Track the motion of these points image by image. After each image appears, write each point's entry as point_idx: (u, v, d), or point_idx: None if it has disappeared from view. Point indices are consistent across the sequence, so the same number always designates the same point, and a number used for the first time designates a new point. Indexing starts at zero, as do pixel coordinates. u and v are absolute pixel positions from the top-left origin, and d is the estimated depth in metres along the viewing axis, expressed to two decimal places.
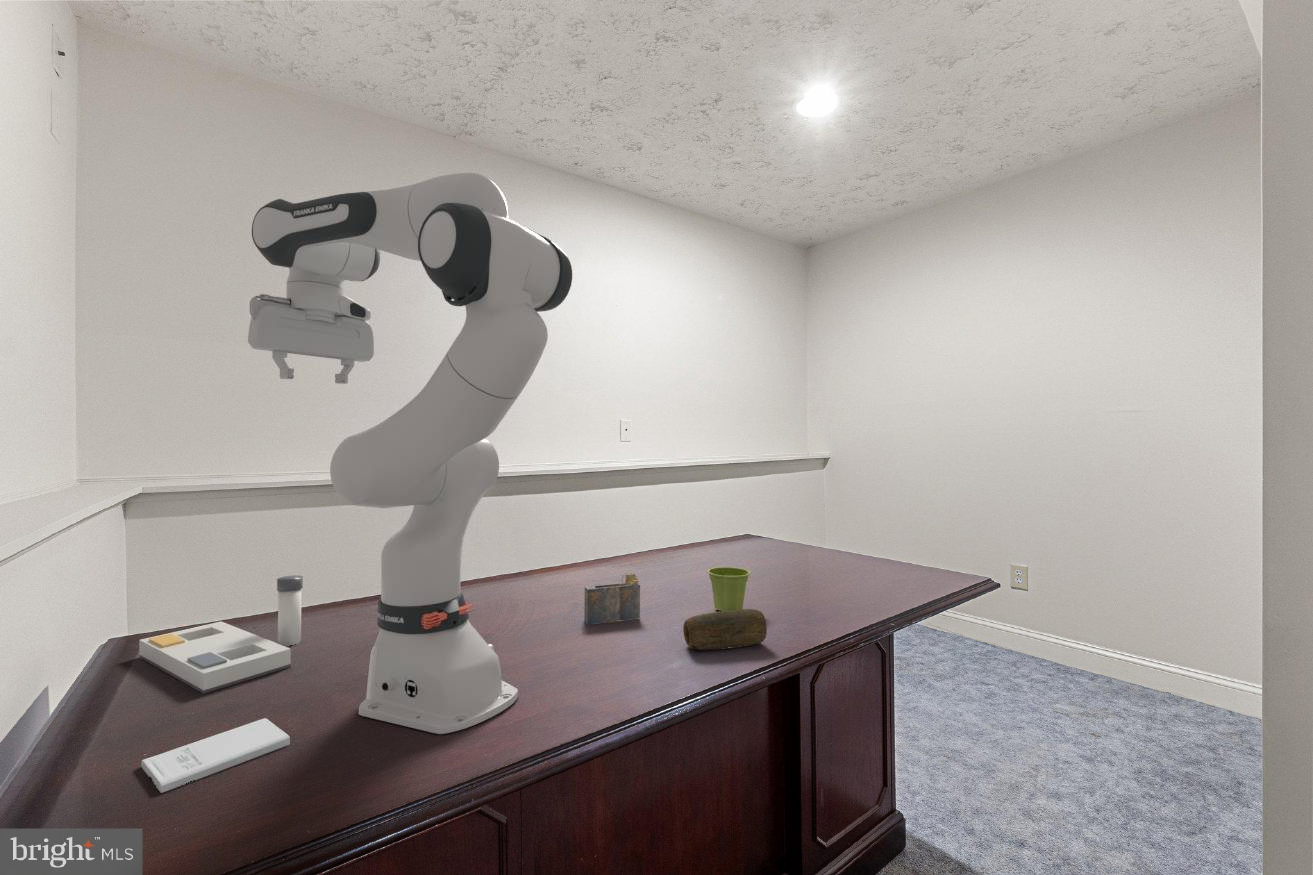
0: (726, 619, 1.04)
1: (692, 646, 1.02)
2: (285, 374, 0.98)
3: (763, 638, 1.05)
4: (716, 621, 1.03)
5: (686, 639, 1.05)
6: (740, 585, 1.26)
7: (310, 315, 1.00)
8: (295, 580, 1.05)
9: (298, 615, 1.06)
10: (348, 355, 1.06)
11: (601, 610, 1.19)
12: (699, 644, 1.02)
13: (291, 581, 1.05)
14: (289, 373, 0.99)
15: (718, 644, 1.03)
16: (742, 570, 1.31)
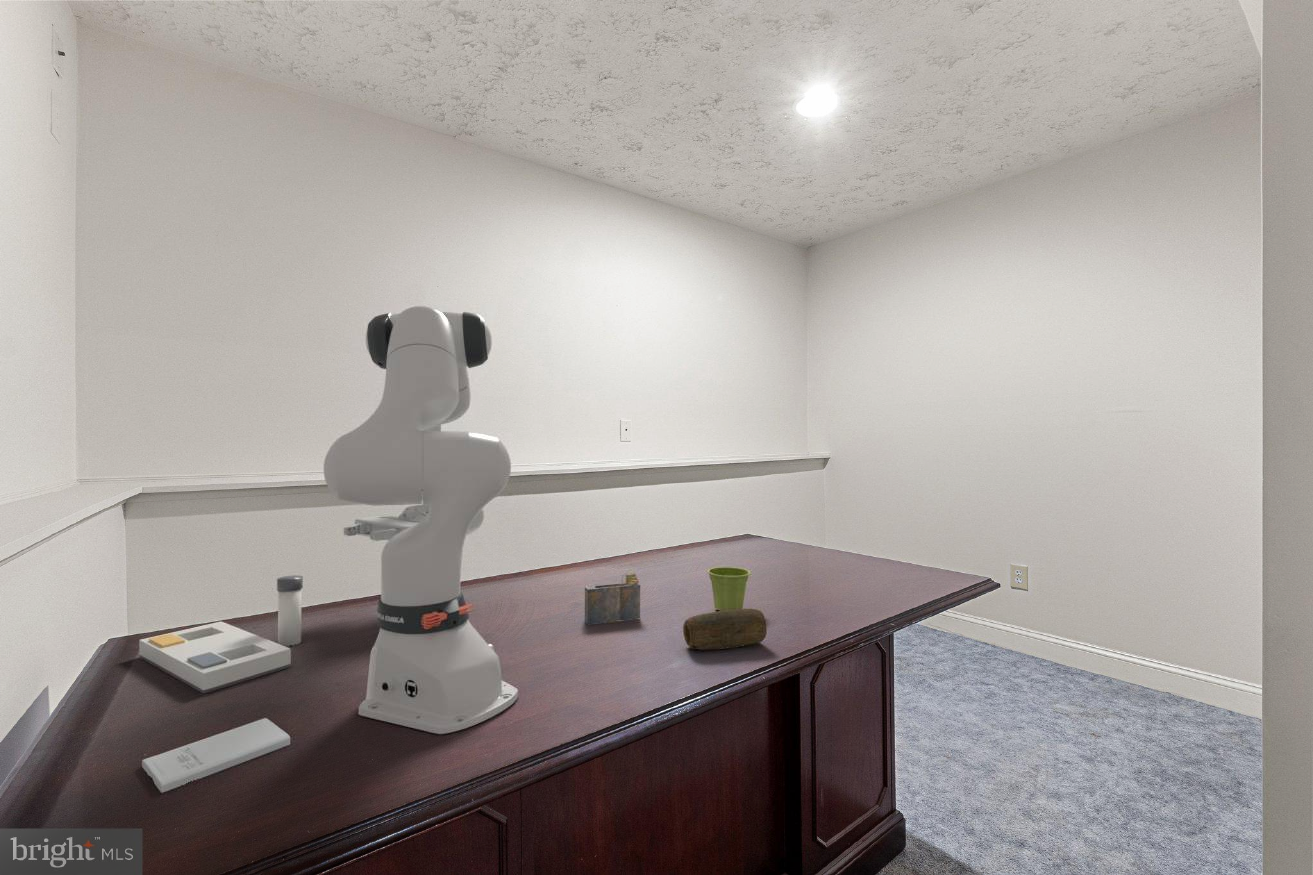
0: (726, 618, 1.04)
1: (692, 646, 1.02)
2: (347, 527, 1.21)
3: (763, 637, 1.05)
4: (716, 621, 1.03)
5: (686, 639, 1.05)
6: (740, 585, 1.26)
7: None
8: (295, 580, 1.05)
9: (298, 615, 1.06)
10: (396, 524, 1.19)
11: (601, 610, 1.19)
12: (699, 644, 1.02)
13: (291, 581, 1.05)
14: (349, 527, 1.21)
15: (719, 644, 1.03)
16: (742, 570, 1.31)
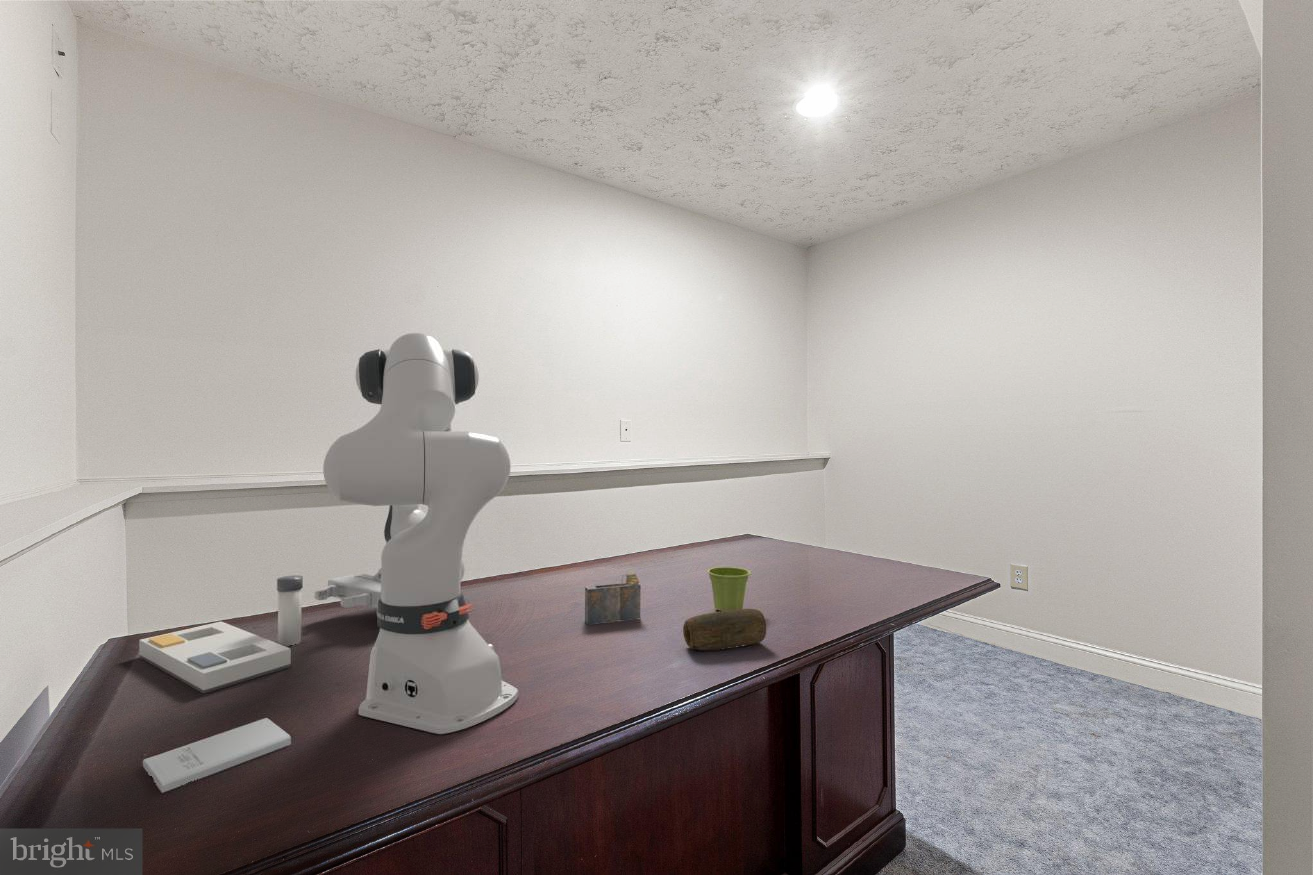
0: (726, 619, 1.04)
1: (693, 646, 1.02)
2: (318, 590, 1.16)
3: (763, 637, 1.06)
4: (717, 621, 1.03)
5: (686, 639, 1.05)
6: (740, 585, 1.26)
7: None
8: (295, 580, 1.05)
9: (298, 615, 1.06)
10: (369, 588, 1.14)
11: (601, 610, 1.19)
12: (700, 645, 1.02)
13: (291, 581, 1.05)
14: (321, 590, 1.16)
15: (719, 644, 1.03)
16: (742, 570, 1.31)
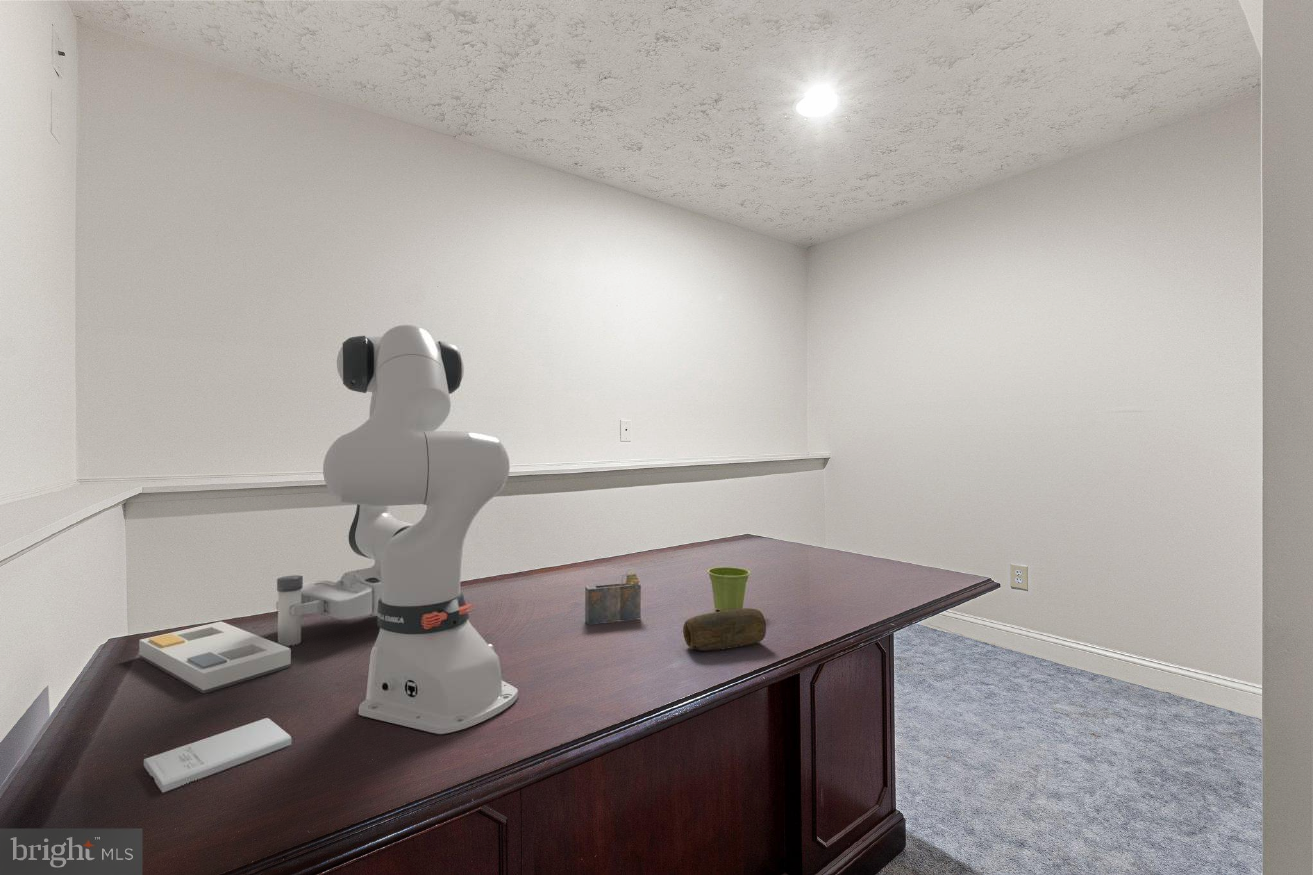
0: (726, 619, 1.04)
1: (693, 647, 1.02)
2: None
3: (762, 637, 1.06)
4: (717, 621, 1.03)
5: (686, 640, 1.05)
6: (740, 585, 1.26)
7: None
8: (295, 580, 1.05)
9: (298, 615, 1.06)
10: (328, 596, 1.07)
11: (602, 610, 1.19)
12: (701, 645, 1.01)
13: (291, 581, 1.05)
14: None
15: (719, 644, 1.03)
16: (742, 570, 1.31)
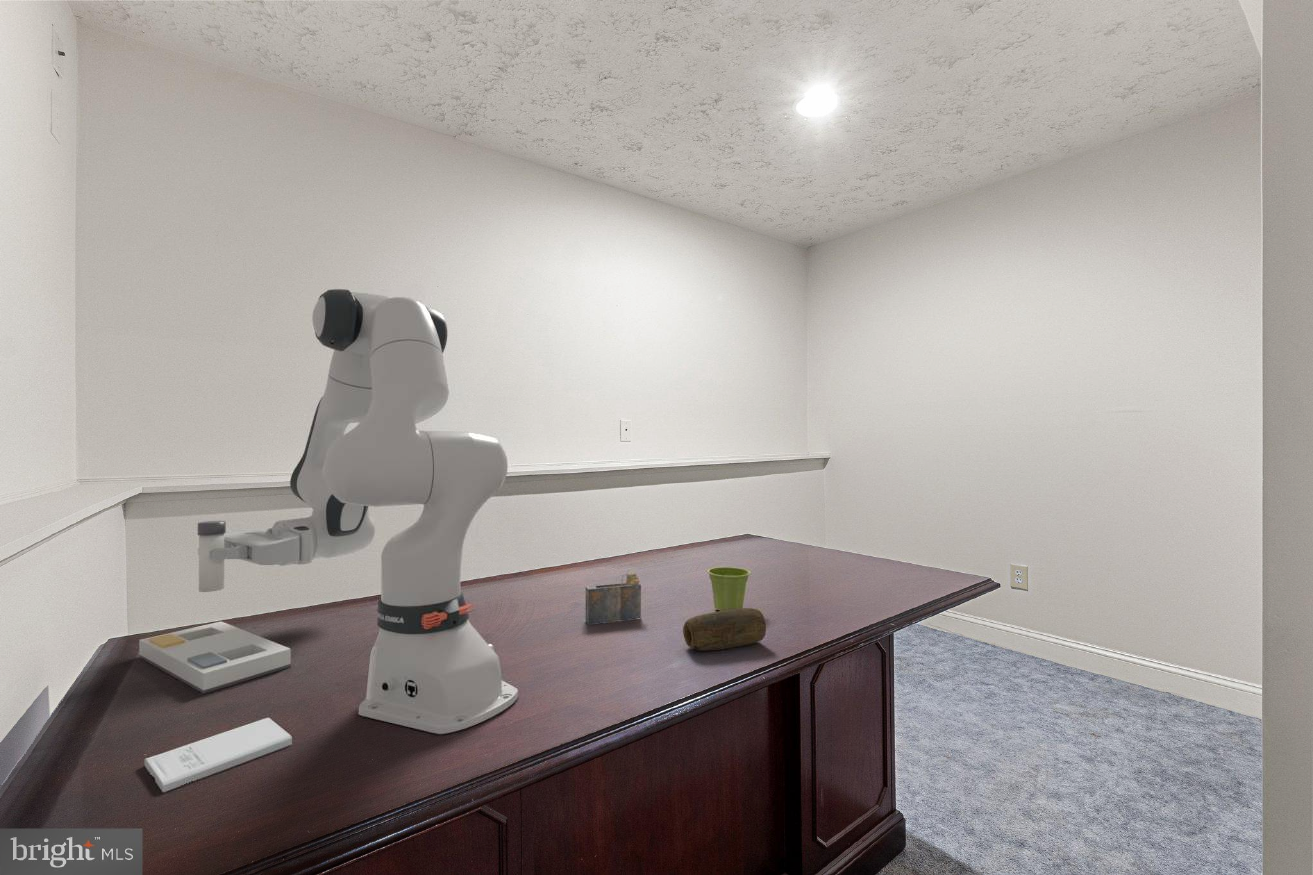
0: (726, 618, 1.04)
1: (694, 647, 1.02)
2: None
3: (762, 637, 1.06)
4: (717, 621, 1.03)
5: (686, 640, 1.05)
6: (740, 585, 1.26)
7: None
8: (216, 524, 1.02)
9: (220, 560, 1.03)
10: (251, 542, 1.04)
11: (602, 610, 1.19)
12: (701, 645, 1.01)
13: (212, 525, 1.02)
14: None
15: (720, 644, 1.03)
16: (742, 570, 1.31)
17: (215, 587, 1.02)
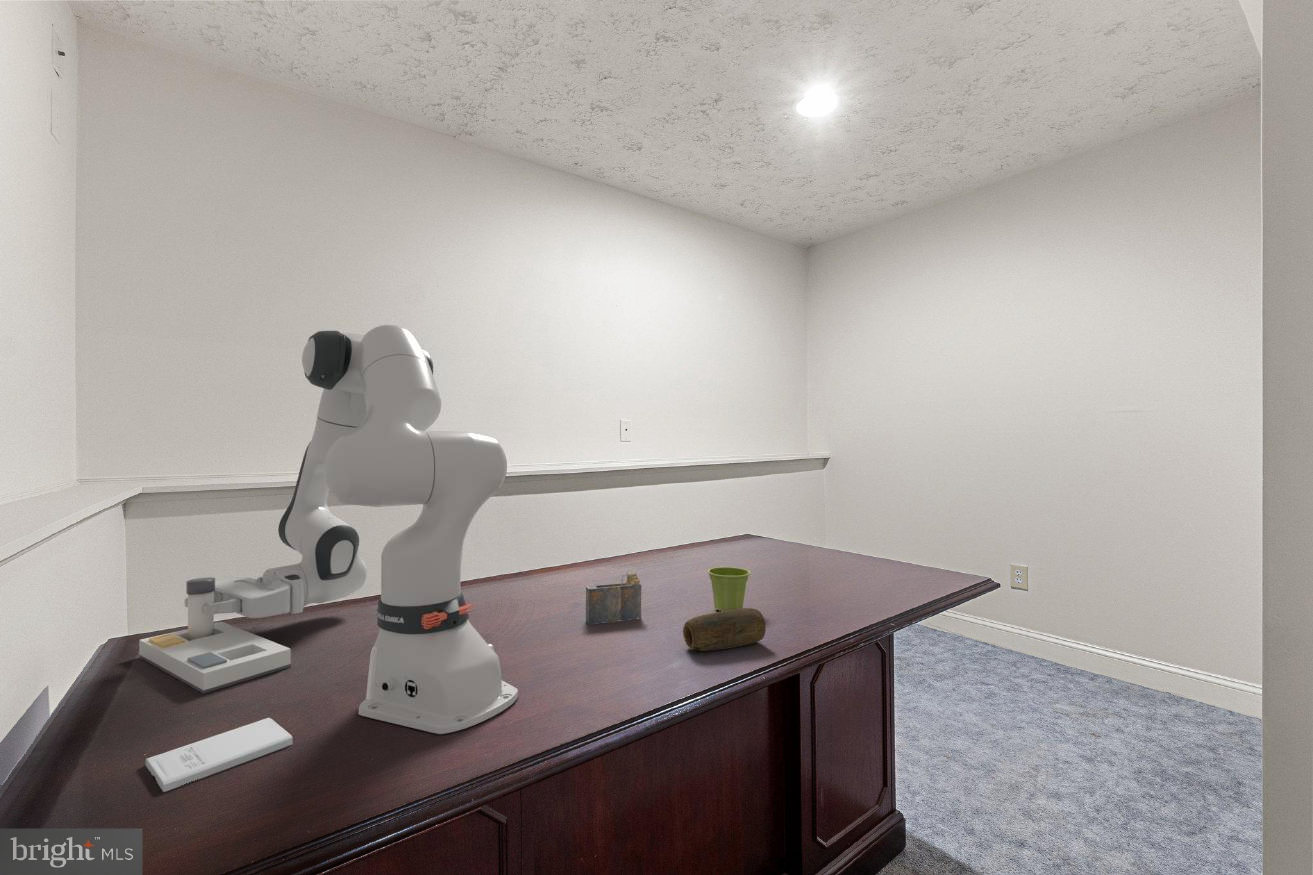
0: (727, 619, 1.04)
1: (695, 648, 1.01)
2: None
3: (762, 636, 1.06)
4: (718, 621, 1.03)
5: (687, 641, 1.04)
6: (740, 585, 1.26)
7: None
8: (205, 582, 1.01)
9: (209, 619, 1.02)
10: (241, 594, 1.03)
11: (602, 610, 1.19)
12: (702, 645, 1.01)
13: (201, 583, 1.01)
14: None
15: (720, 644, 1.02)
16: (742, 570, 1.31)
17: None
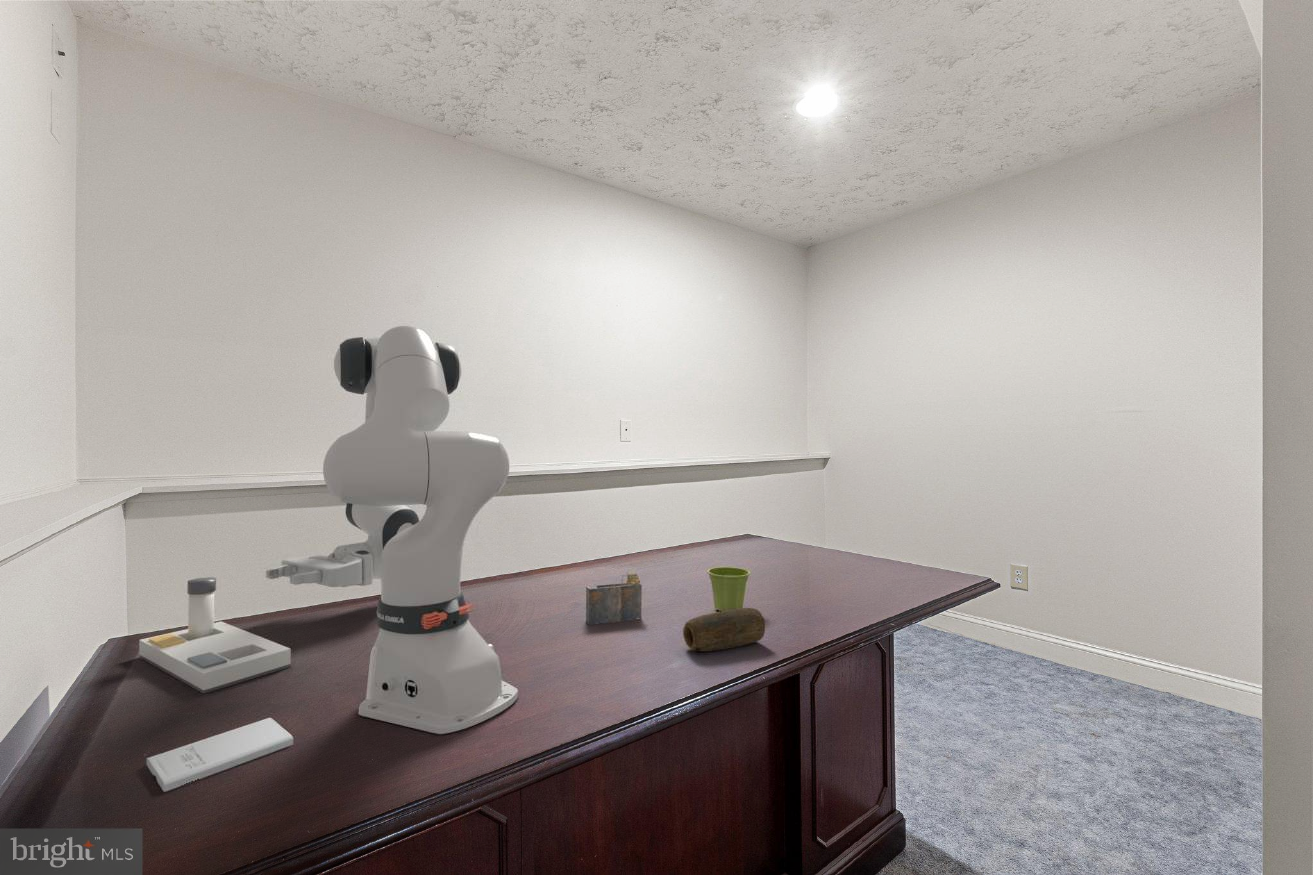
0: (727, 619, 1.04)
1: (696, 648, 1.01)
2: (269, 569, 1.16)
3: (761, 636, 1.06)
4: (718, 621, 1.03)
5: (687, 641, 1.04)
6: (740, 585, 1.25)
7: None
8: (206, 582, 1.01)
9: (210, 619, 1.02)
10: (320, 566, 1.14)
11: (603, 610, 1.19)
12: (703, 646, 1.01)
13: (202, 583, 1.01)
14: (272, 569, 1.16)
15: (721, 644, 1.02)
16: (742, 570, 1.31)
17: None
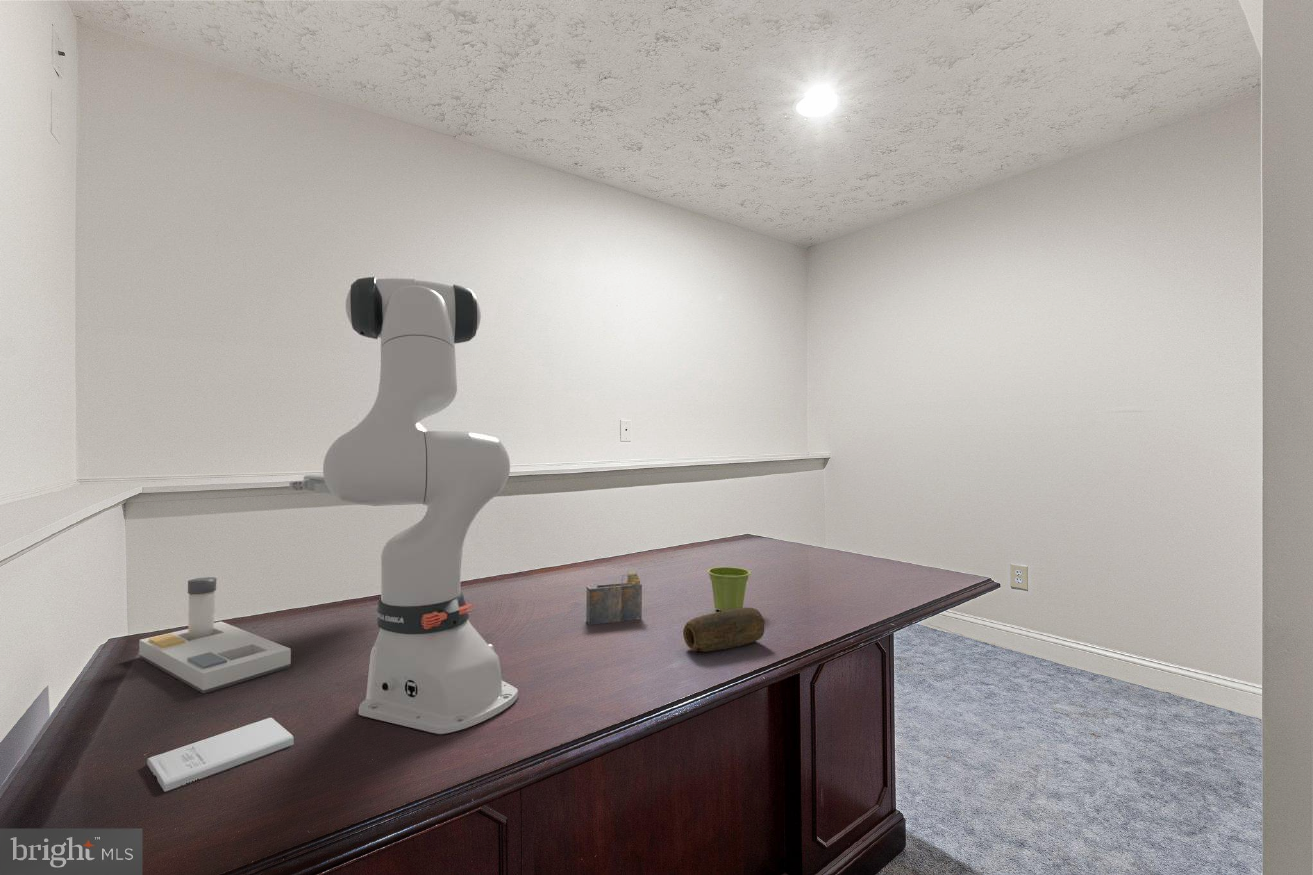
0: (727, 619, 1.04)
1: (697, 648, 1.01)
2: (293, 481, 1.18)
3: (761, 635, 1.07)
4: (719, 621, 1.03)
5: (687, 642, 1.04)
6: (740, 585, 1.26)
7: None
8: (207, 582, 1.02)
9: (210, 618, 1.02)
10: None
11: (603, 610, 1.19)
12: (704, 646, 1.01)
13: (202, 583, 1.01)
14: (295, 481, 1.18)
15: (722, 644, 1.02)
16: (742, 570, 1.31)
17: None
